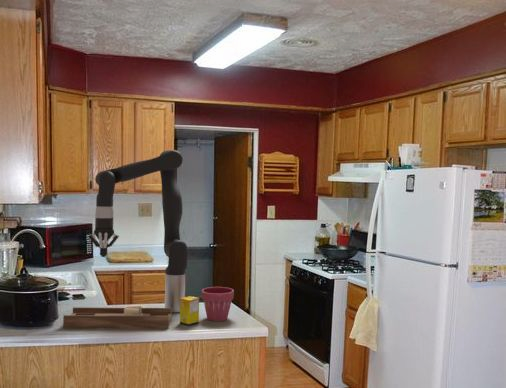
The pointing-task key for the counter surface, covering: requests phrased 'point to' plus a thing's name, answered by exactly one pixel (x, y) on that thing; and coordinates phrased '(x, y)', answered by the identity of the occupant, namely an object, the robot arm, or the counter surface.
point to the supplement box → (189, 310)
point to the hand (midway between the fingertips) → (103, 256)
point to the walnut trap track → (117, 318)
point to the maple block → (132, 311)
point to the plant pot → (217, 302)
